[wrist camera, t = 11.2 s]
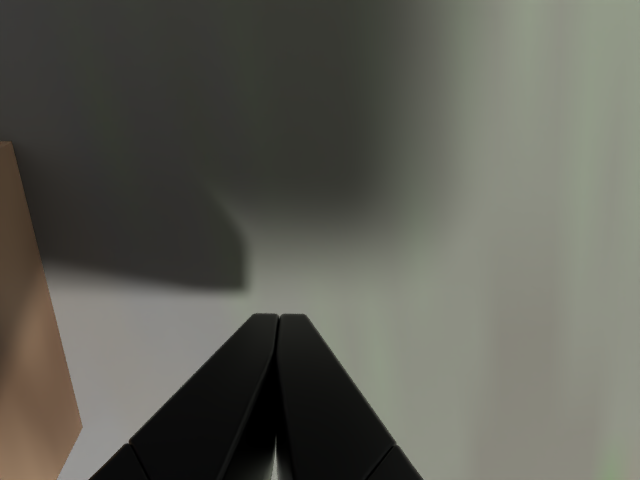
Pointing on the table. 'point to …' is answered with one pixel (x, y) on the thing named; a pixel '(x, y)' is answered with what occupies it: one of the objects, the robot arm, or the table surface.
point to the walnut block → (29, 348)
